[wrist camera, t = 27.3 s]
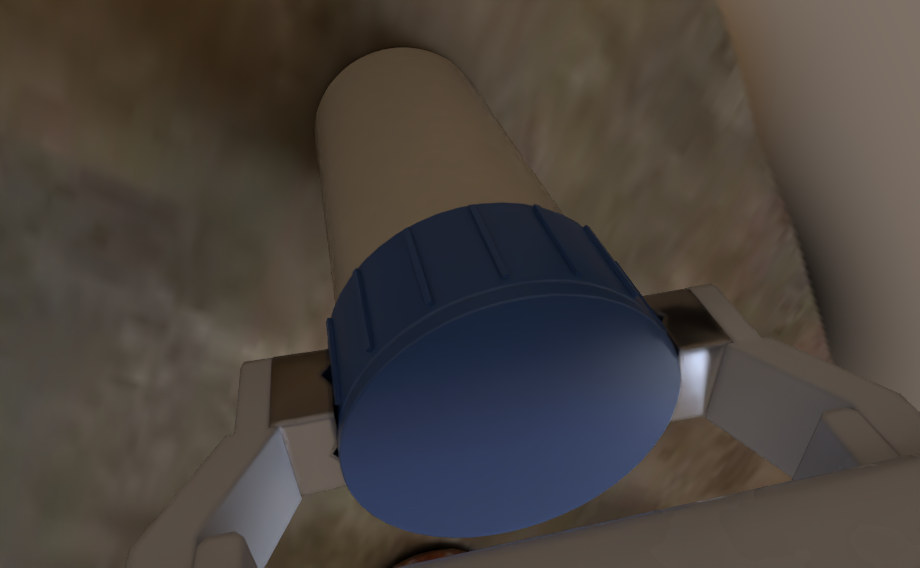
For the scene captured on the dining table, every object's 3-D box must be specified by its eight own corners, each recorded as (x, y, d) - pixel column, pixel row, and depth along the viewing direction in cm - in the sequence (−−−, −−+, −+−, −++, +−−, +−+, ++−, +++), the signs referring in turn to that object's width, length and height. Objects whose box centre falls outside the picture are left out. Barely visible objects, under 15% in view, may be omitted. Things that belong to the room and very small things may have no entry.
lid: (452, 464, 15) (480, 571, 13) (256, 341, 11) (253, 461, 9) (662, 320, 13) (732, 412, 11) (513, 131, 10) (575, 216, 8)
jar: (326, 217, 21) (367, 531, 12) (301, 54, 17) (330, 317, 9) (482, 197, 21) (628, 476, 13) (484, 39, 18) (682, 263, 9)
